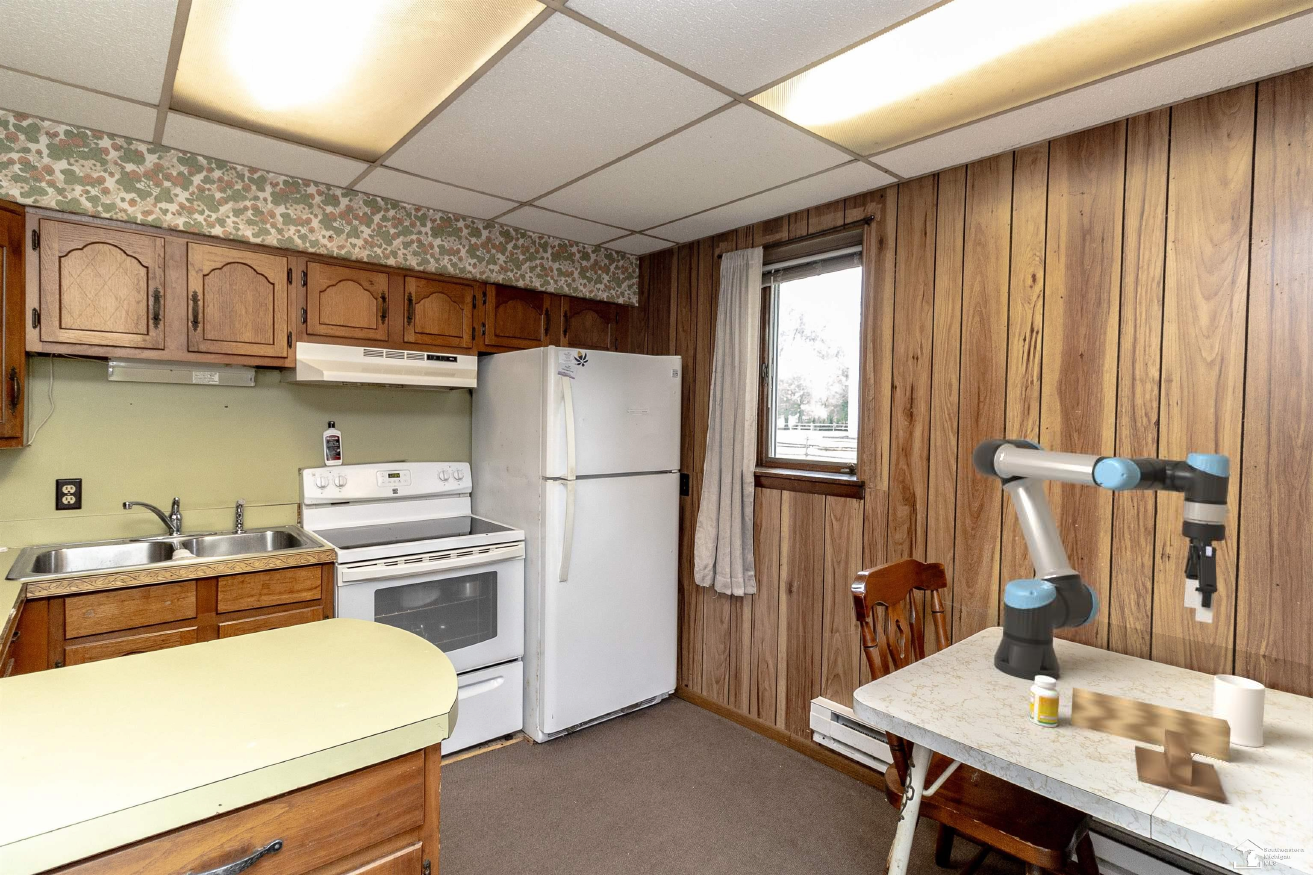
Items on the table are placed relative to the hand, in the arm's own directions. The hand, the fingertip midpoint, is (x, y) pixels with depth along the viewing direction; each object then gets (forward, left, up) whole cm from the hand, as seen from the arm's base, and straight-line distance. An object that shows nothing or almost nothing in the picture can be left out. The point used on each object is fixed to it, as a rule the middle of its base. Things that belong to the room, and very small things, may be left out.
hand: (1197, 614), depth 149 cm
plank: (-10, -23, -23) cm, 34 cm away
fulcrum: (-6, -38, -23) cm, 44 cm away
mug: (+6, -8, -23) cm, 25 cm away
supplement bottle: (-28, -28, -23) cm, 45 cm away
